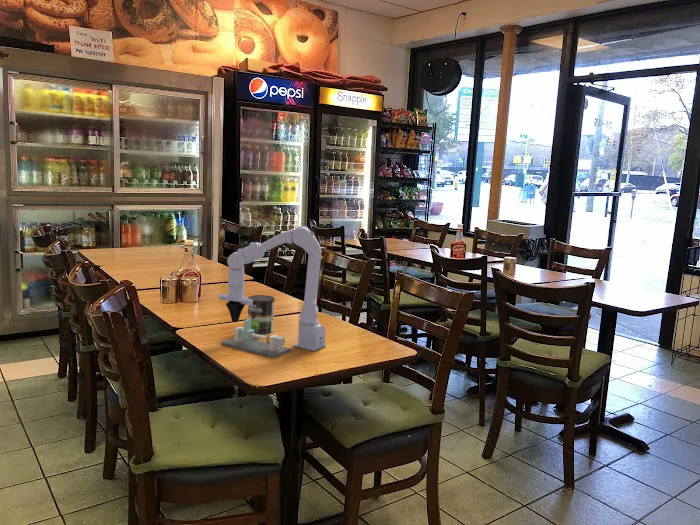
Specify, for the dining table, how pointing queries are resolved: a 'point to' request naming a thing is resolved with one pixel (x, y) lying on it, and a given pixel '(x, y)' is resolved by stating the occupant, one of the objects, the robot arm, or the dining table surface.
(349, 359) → the dining table surface
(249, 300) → the robot arm
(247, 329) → the sleeve
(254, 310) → the coffee can
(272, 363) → the dining table surface
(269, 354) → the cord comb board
